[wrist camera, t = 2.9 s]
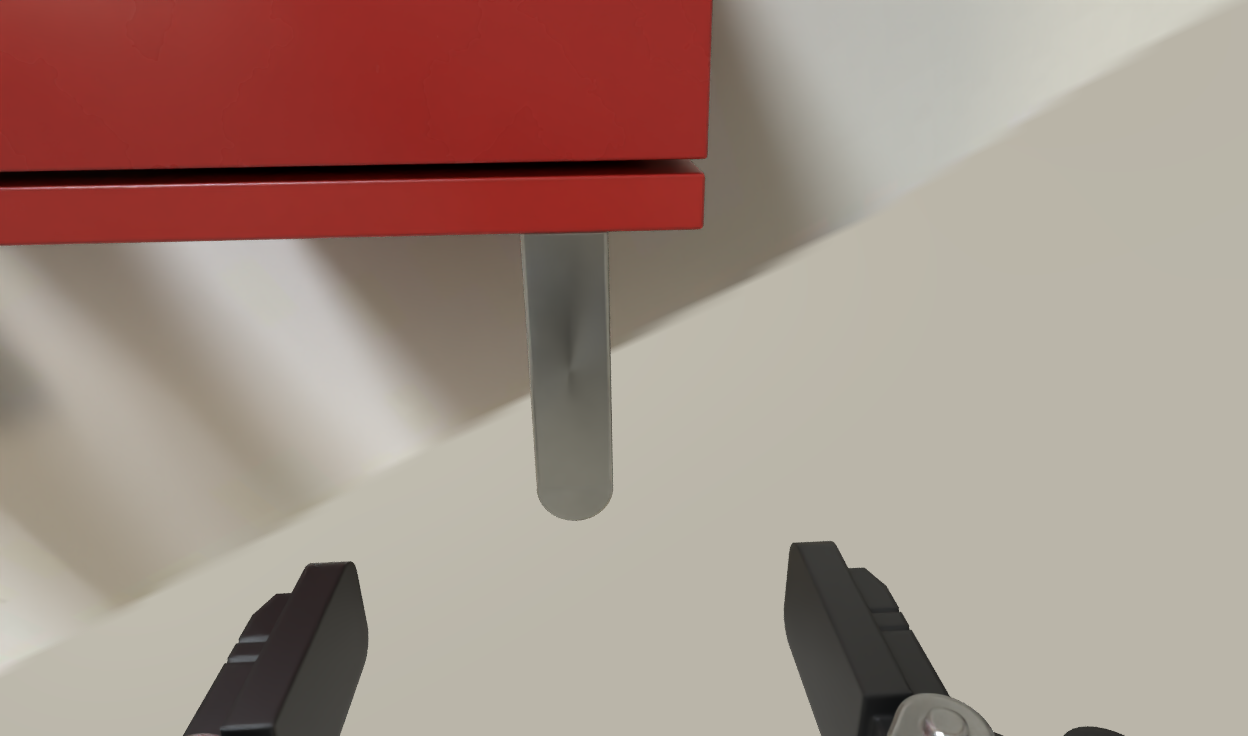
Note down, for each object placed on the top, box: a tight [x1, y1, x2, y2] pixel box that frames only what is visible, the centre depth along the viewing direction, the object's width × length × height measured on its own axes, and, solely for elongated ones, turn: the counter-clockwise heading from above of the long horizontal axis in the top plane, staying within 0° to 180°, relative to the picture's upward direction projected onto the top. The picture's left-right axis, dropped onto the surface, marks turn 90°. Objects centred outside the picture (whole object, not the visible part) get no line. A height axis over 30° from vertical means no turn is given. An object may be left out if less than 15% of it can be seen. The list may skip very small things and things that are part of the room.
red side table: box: [0, 159, 705, 521], centre depth 24 cm, size 7×18×22 cm, turn 91°
